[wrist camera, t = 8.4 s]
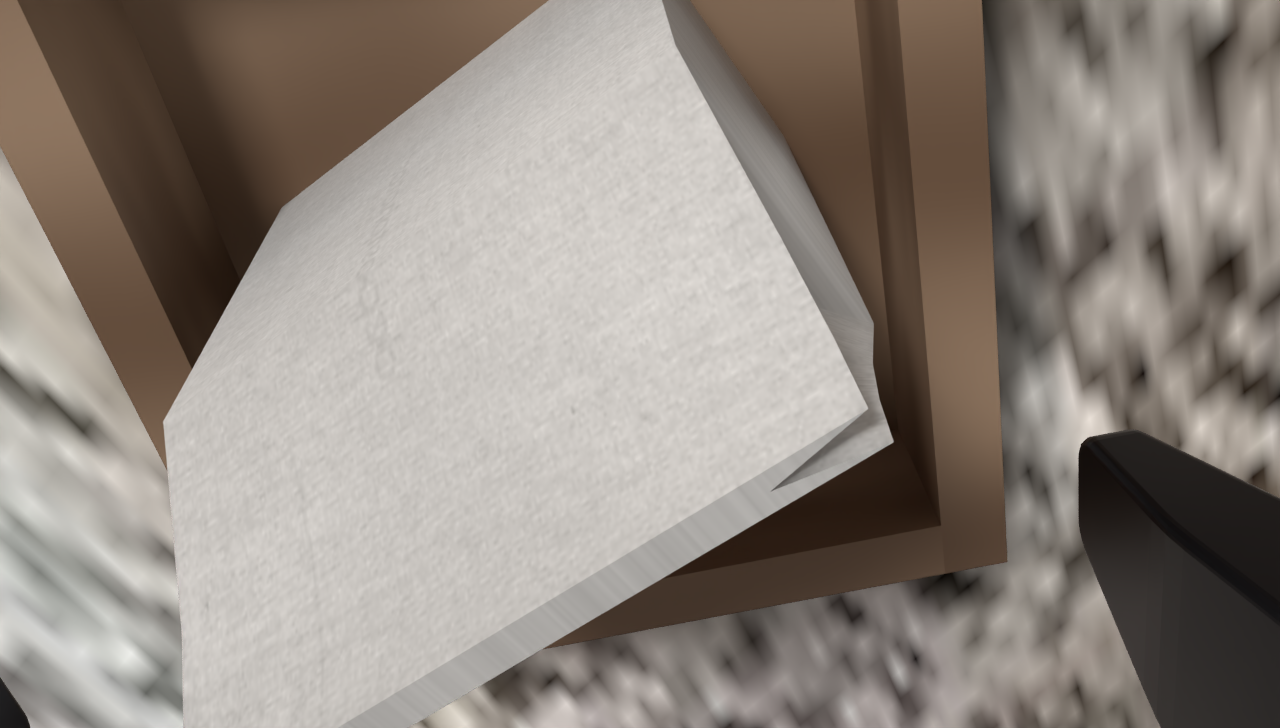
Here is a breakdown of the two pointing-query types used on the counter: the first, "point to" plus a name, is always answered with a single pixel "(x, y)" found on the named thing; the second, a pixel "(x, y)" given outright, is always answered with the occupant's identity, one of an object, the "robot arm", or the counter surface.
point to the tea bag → (507, 376)
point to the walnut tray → (418, 63)
